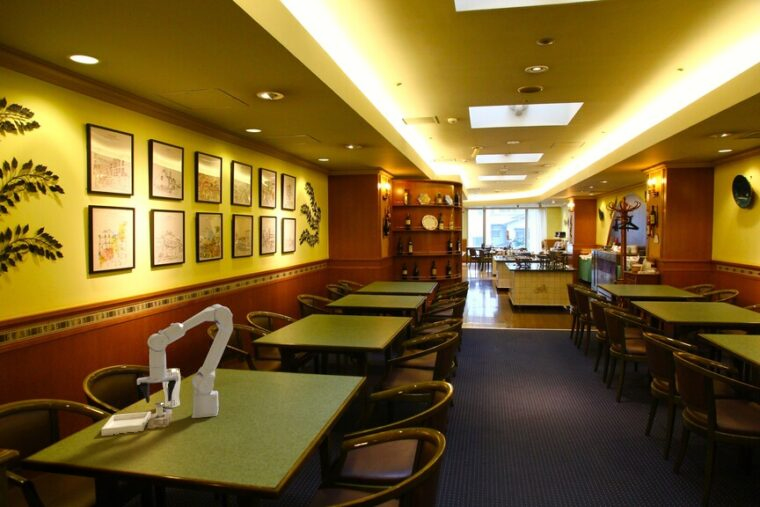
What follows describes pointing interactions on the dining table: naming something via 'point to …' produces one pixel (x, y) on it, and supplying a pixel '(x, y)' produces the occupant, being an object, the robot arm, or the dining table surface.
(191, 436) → the dining table surface
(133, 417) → the tray
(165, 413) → the block
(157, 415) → the pin
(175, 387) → the beer glass
